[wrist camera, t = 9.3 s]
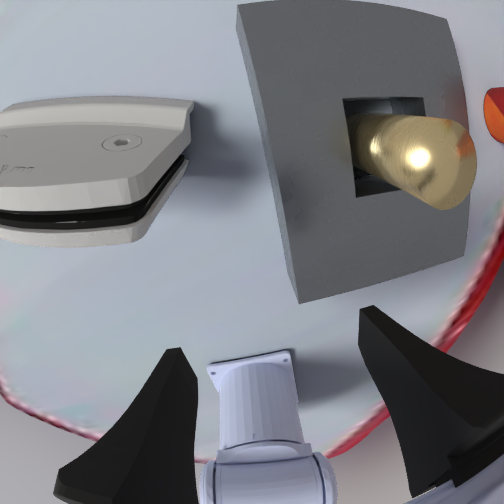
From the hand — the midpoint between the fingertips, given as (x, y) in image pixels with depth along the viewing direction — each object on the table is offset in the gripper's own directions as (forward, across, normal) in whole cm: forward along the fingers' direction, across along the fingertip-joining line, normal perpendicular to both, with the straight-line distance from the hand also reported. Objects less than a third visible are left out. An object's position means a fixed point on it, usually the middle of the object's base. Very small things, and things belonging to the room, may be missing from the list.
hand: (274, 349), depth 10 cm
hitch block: (+10, -9, -6) cm, 15 cm away
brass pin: (+10, -9, -6) cm, 15 cm away
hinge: (+11, +10, -10) cm, 18 cm away
